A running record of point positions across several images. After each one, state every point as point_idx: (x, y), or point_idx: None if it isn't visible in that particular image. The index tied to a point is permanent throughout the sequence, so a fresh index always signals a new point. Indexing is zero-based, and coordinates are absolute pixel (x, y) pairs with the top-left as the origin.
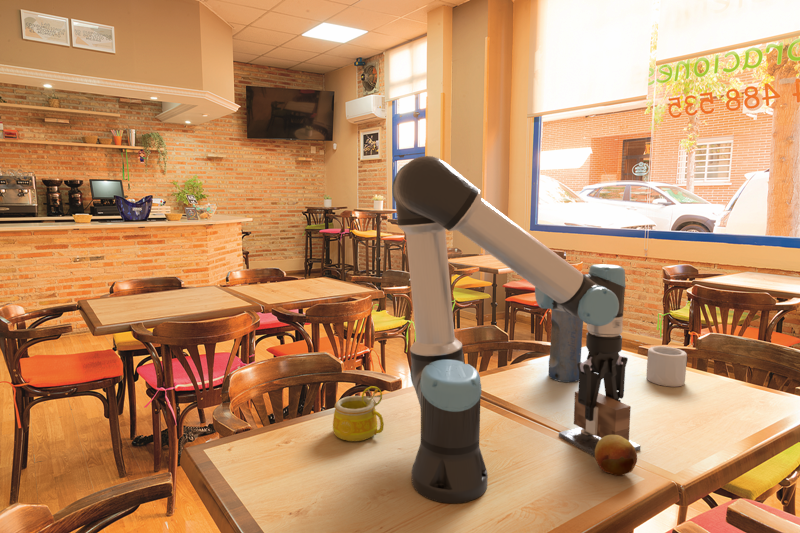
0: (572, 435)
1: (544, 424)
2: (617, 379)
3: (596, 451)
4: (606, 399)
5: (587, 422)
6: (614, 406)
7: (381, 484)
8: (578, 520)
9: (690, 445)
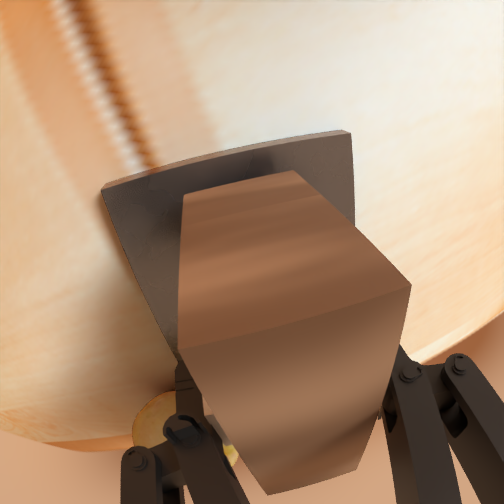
0: (151, 229)
1: (100, 47)
2: (481, 475)
3: (133, 441)
4: (330, 445)
5: None
6: (291, 482)
7: None
8: (67, 445)
9: (456, 301)
